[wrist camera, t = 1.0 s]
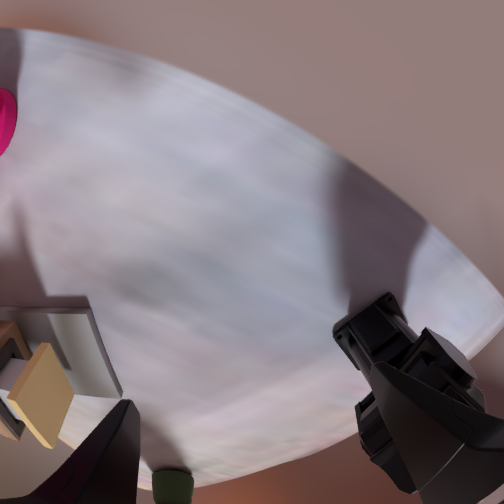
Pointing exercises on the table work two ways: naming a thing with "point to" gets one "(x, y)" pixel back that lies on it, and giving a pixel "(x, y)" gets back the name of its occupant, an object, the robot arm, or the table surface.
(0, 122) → the pepper mill
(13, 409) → the tan drawer
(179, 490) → the character mug
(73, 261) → the table surface
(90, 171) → the table surface
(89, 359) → the wooden drawer box
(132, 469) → the robot arm
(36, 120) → the table surface
